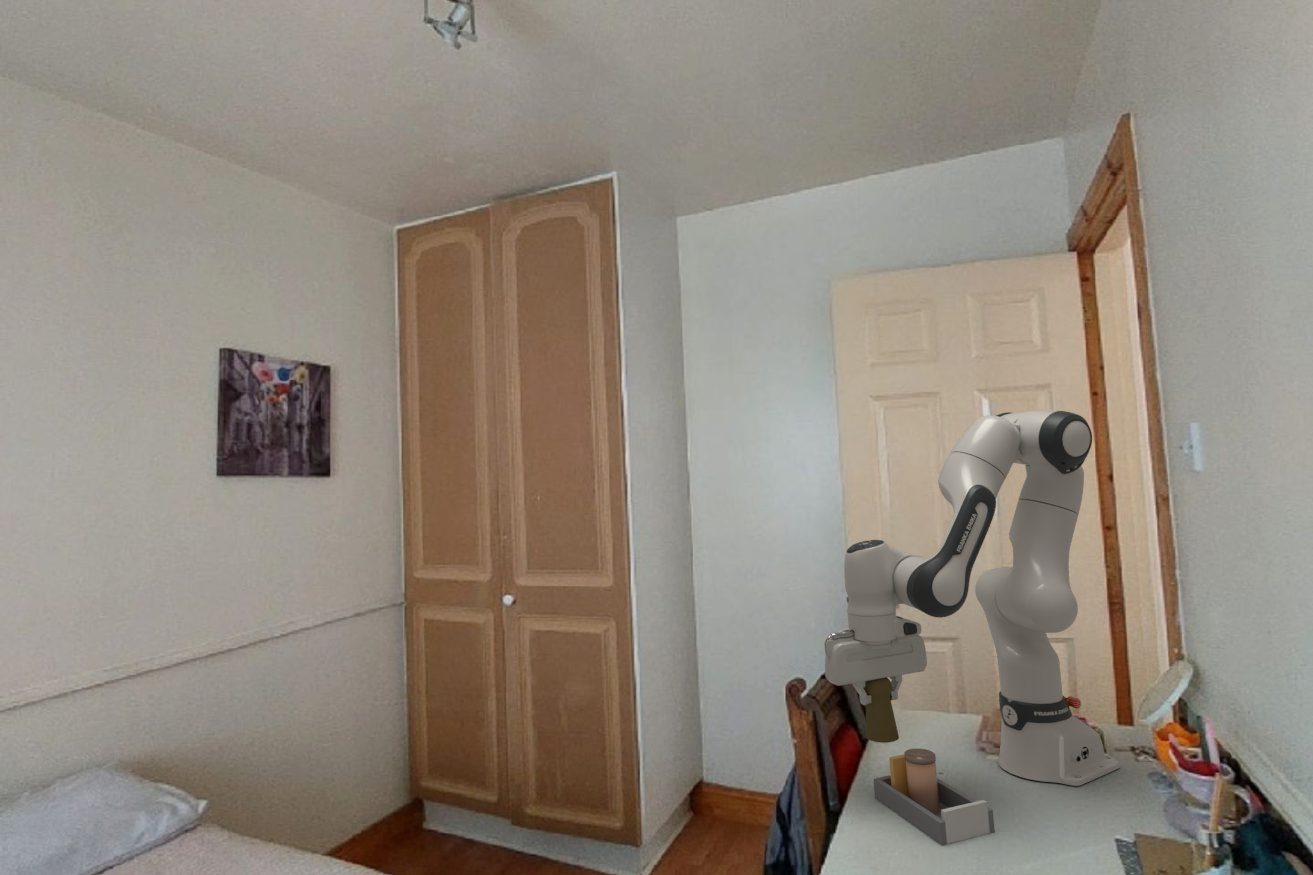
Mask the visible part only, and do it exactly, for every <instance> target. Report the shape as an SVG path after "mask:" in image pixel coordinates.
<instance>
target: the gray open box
mask: <svg viewBox="0 0 1313 875" xmlns="http://www.w3.org/2000/svg"><path fill="white" fill-rule="evenodd" d="M937 787H938V798H939V810H940V812H939V814H937V815H934V814H933V813H931V812H930V811H928V810H927V809H925V808H923V807H922V806H920V805H919V804H917V803H916V802H914V801H913V800H911V799H910V798H908V797H907V796H905V795H904V794H902V793H900V792H899V791H897V790H896V789H894V788H893V787H892V786H891V774H890V775H884V776H880V777H876V778H873V789H874V790H873V791H874V799H875V800H876V801H878V802H879V803H881V805H883V806H885V807H886V808H887V809H889V810H890V811H892V812H893V813H895V814H896V815H898V816H899V817H901V818H902V819H904V820H905V821H906V822H908V823H909V824H910V825H912V826H913V827H915V828H916V829H918V830H919V831H920V832H922V833H923V834H925V835H926V836H927V837H929V838H930V839H931V840H933V841H935V842H936V843H937V844H939V845H940V846H946V845H950V844H954V843H958V842H962V841H965V840H969V839H973V838H977V837H982V836H985V835H989V834H993V833H995V821H994V820H995V819H994V810H993V809H991V808H990V807H988V801H986V800H985V799H982V800H981V799H980V800H976V799H974V798H973V797H971V796H969V795H967V794H966V793H964V792H962V791H961V790H959V789H957V788H956V787H953V785H950V784H948V783H946V782H945V781H943V780H941V779H940V778H938V777H937Z"/></svg>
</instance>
